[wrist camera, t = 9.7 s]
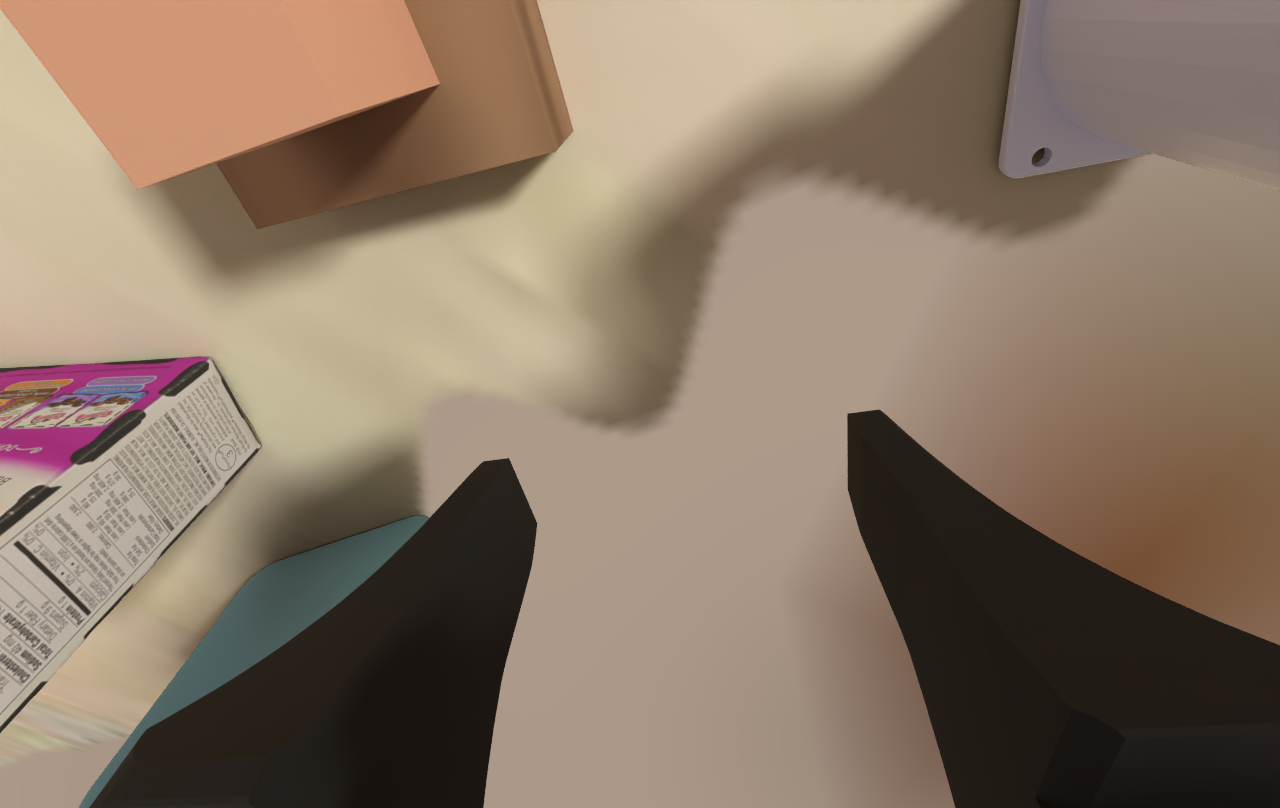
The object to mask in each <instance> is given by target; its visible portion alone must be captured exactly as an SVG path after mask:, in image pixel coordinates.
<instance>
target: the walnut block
mask: <svg viewBox="0 0 1280 808" xmlns="http://www.w3.org/2000/svg"><path fill="white" fill-rule="evenodd" d="M404 1H405V4H406V6H407V8H408V11H409V13H410V15H411V18H412V20H413V22H414V25H415V27H416V29H417V32H418V34H419V36H420V39H421V41H422V43H423V46H424V48H425V50H426V53H427V55H428V57H429V60H430V62H431V64H432V67H433V69H434V71H435V74H436V76H437V78H438V81H439V83H440V84H439V85H436V86H433V87H430V88H427V89H425V90H422V91H419V92H416V93H414V94H411V95H408V96H405V97H403V98H400V99H397V100H394V101H391V102H389V103H386V104H383V105H380V106H378V107H375V108H372V109H369V110H367V111H364V112H361V113H358V114H356V115H353V116H350V117H347V118H344V119H342V120H339V121H336V122H333V123H331V124H328V125H325V126H322V127H320V128H317V129H314V130H311V131H309V132H306V133H303V134H300V135H297V136H295V137H292V138H289V139H286V140H283V141H280V142H277V143H274V144H271V145H268V146H265V147H263V148H260V149H257V150H254V151H251V152H248V153H245V154H242V155H239V156H236V157H233V158H230V159H227V160H224V161H221V162H218V163H217V165H218V166H219V168H220V169H221V171H222V173H223V174H224V176H225V178H226V179H227V181H228V182H229V184H230V186H231V187H232V189H233V190H234V192H235V194H236V195H237V197H238V199H239V200H240V202H241V203H242V205H243V207H244V208H245V210H246V212H247V213H248V215H249V216H250V218H251V220H252V221H253V223H254V225H255V226H256V228H257V229H259V228H263V227H267V226H271V225H274V224H278V223H282V222H286V221H290V220H294V219H298V218H301V217H305V216H309V215H313V214H317V213H321V212H324V211H328V210H332V209H336V208H340V207H344V206H348V205H351V204H355V203H359V202H363V201H367V200H371V199H374V198H378V197H382V196H386V195H390V194H394V193H398V192H401V191H405V190H409V189H413V188H417V187H421V186H425V185H428V184H432V183H436V182H440V181H444V180H448V179H451V178H455V177H459V176H463V175H467V174H471V173H475V172H478V171H482V170H486V169H490V168H494V167H498V166H501V165H505V164H509V163H513V162H517V161H521V160H525V159H528V158H532V157H536V156H540V155H544V154H548V153H552V152H555V151H556V150H557V149H558V148H559V147H560V146H561V145H562V143H563V142H564V141H565V140H566V139H567V138H568V136H569V135H570V134H571V133H572V132H573V128H572V124H571V121H570V117H569V114H568V110H567V107H566V103H565V99H564V96H563V92H562V89H561V85H560V82H559V78H558V75H557V71H556V68H555V64H554V60H553V57H552V53H551V50H550V46H549V43H548V39H547V36H546V32H545V29H544V25H543V21H542V18H541V14H540V11H539V7H538V4H537V0H404Z"/></svg>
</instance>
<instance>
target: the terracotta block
mask: <svg viewBox="0 0 1280 808" xmlns="http://www.w3.org/2000/svg"><path fill="white" fill-rule="evenodd" d="M0 9H1V10H2V11H3V13H4V14H5V15H6V17H7V18H8V19H9V21H10V22H11V23H12V25H13V26H14V27H15V29H16V30H17V31H18V32H19V34H20V35H21V36H22V38H23V39H24V40H25V42H26V43H27V44H28V46H29V47H30V48H31V50H32V51H33V52H34V54H35V55H36V56H37V58H38V59H39V60H40V61H41V63H42V64H43V65H44V67H45V68H46V69H47V71H48V72H49V73H50V75H51V76H52V77H53V79H54V80H55V81H56V83H57V84H58V85H59V86H60V88H61V89H62V90H63V92H64V93H65V94H66V96H67V97H68V98H69V100H70V101H71V102H72V104H73V105H74V106H75V108H76V109H77V110H78V112H79V113H80V114H81V115H82V117H83V118H84V119H85V121H86V122H87V123H88V125H89V126H90V127H91V129H92V130H93V131H94V133H95V134H96V135H97V137H98V138H99V139H100V140H101V142H102V143H103V144H104V146H105V147H106V148H107V150H108V151H109V152H110V154H111V155H112V156H113V158H114V159H115V160H116V162H117V163H118V164H119V166H120V167H121V168H122V169H123V171H124V172H125V173H126V175H127V176H128V177H129V179H130V180H131V181H132V183H133V184H134V185H135V187H136V188H137V189H140V188H143V187H146V186H149V185H152V184H155V183H158V182H161V181H164V180H167V179H170V178H173V177H176V176H179V175H182V174H185V173H188V172H191V171H194V170H197V169H200V168H203V167H206V166H209V165H212V164H215V163H218V162H221V161H224V160H227V159H230V158H233V157H236V156H239V155H242V154H245V153H248V152H251V151H254V150H257V149H260V148H263V147H265V146H268V145H271V144H274V143H277V142H280V141H283V140H286V139H289V138H292V137H295V136H297V135H300V134H303V133H306V132H309V131H311V130H314V129H317V128H320V127H322V126H325V125H328V124H331V123H333V122H336V121H339V120H342V119H344V118H347V117H350V116H353V115H356V114H358V113H361V112H364V111H367V110H369V109H372V108H375V107H378V106H380V105H383V104H386V103H389V102H391V101H394V100H397V99H400V98H403V97H405V96H408V95H411V94H414V93H416V92H419V91H422V90H425V89H427V88H430V87H433V86H436V85H439V84H440V83H439V81H438V78H437V76H436V74H435V71H434V69H433V67H432V64H431V62H430V60H429V57H428V55H427V53H426V50H425V48H424V46H423V43H422V41H421V39H420V36H419V34H418V32H417V29H416V27H415V25H414V22H413V20H412V18H411V15H410V13H409V11H408V8H407V6H406V4H405V1H404V0H0Z"/></svg>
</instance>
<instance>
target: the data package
mask: <svg viewBox="0 0 1280 808" xmlns="http://www.w3.org/2000/svg"><path fill="white" fill-rule="evenodd" d="M428 519H429V517H427V516H423V515H417V516H412V517H409V518H406V519H403V520H400V521H397V522H394V523H391V524H388V525H385V526H382V527H379V528H376V529H373V530H370V531H367V532H364V533H361V534H358V535H355V536H352V537H349V538H346V539H343V540H340V541H337V542H334V543H331V544H328V545H325V546H322V547H319V548H316V549H313V550H310V551H307V552H304V553H301V554H298V555H295V556H292V557H289V558H286V559H282V560H279V561H277V562H274V563H272V564H270V565H268V566H267V567H265V568H264V569H262V570H261V571H259V572H258V573H257V574H256V575H254V576H253V577H252V578H251V579H250V580H249V581H248V582H247V583H246V584H245V585H244V586H243V587H242V588H241V589H240V591H239V592H238V593H237V594H236V596H235V597H234V598H233V600H232V601H231V602H230V604H229V605H228V606H227V608H226V609H225V610H224V612H223V613H222V614H221V616H220V617H219V618H218V620H217V621H216V622H215V624H214V625H213V626H212V628H211V629H210V630H209V632H208V633H207V634H206V636H205V637H204V638H203V640H202V641H201V642H200V644H199V645H198V646H197V648H196V649H195V650H194V652H193V653H192V654H191V656H190V657H189V658H188V660H187V661H186V662H185V663H184V665H183V666H182V667H181V669H180V670H179V671H178V673H177V674H176V675H175V677H174V678H173V679H172V681H171V682H170V683H169V685H168V686H167V687H166V689H165V690H164V691H163V693H162V694H161V695H160V697H159V698H158V699H157V701H156V702H155V703H154V705H153V706H152V707H151V709H150V710H149V711H148V713H147V714H146V715H145V717H144V718H143V719H142V721H141V722H140V723H139V725H138V726H137V727H136V729H135V730H134V731H133V733H132V734H131V735H130V737H129V738H128V739H127V741H126V742H125V743H124V745H123V746H122V747H121V749H120V750H119V751H118V753H117V754H116V755H115V756H114V758H113V759H112V760H111V762H110V763H109V765H108V766H107V767H106V768H105V770H104V771H103V772H102V774H101V775H100V776H99V778H98V779H97V780H96V782H95V783H94V784H93V786H92V787H91V789H90V790H89V791H88V793H87V794H86V796H85V798H84V799H83V801H82V803H81V805H80V807H79V808H89V807H90V806H91V805H92V803H93V802H94V800H95V799H96V798H97V796H98V795H99V793H100V792H101V791H102V789H103V788H104V787H105V785H106V784H107V782H108V781H109V780H110V778H111V777H112V776H113V774H114V773H115V771H116V770H117V769H118V767H119V766H120V764H121V763H122V762H123V760H124V759H125V758H126V756H127V755H128V753H129V752H130V751H131V749H132V748H133V747H134V745H135V744H136V742H137V741H138V740H139V738H140V737H141V735H142V734H143V733H144V732H145V730H146V729H148V728H149V727H151V726H153V725H155V724H157V723H159V722H160V721H162V720H164V719H166V718H167V717H169V716H171V715H172V714H174V713H176V712H178V711H179V710H181V709H183V708H184V707H186V706H188V705H190V704H191V703H193V702H195V701H197V700H198V699H200V698H202V697H203V696H205V695H207V694H209V693H210V692H212V691H214V690H215V689H217V688H219V687H220V686H222V685H223V684H225V683H227V682H228V681H230V680H231V679H233V678H235V677H236V676H238V675H239V674H241V673H242V672H244V671H245V670H247V669H248V668H250V667H252V666H253V665H255V664H256V663H258V662H259V661H261V660H262V659H264V658H265V657H267V656H268V655H270V654H271V653H272V652H274V651H275V650H277V649H278V648H280V647H281V646H283V645H284V644H285V643H287V642H288V641H290V640H291V639H292V638H294V637H295V636H296V635H298V634H299V633H300V632H302V631H303V630H304V629H306V628H307V627H308V626H310V625H311V624H312V623H314V622H315V621H316V620H318V619H319V618H320V617H322V616H323V615H324V614H326V613H327V612H328V611H330V610H331V609H332V608H333V607H335V606H336V605H337V604H338V603H340V602H341V601H342V600H343V599H344V598H346V597H347V596H348V595H349V594H350V593H352V592H353V591H354V590H355V589H356V588H357V587H359V586H360V585H361V584H362V583H363V582H364V581H366V580H367V579H368V578H369V577H370V576H371V575H372V574H373V573H375V572H376V571H377V570H378V569H379V568H380V567H381V566H382V565H383V564H384V563H385V562H386V561H387V560H388V559H389V558H390V557H391V556H392V555H393V554H394V553H395V552H397V551H398V550H399V549H400V548H401V547H402V546H403V545H404V544H405V543H406V542H407V541H408V540H409V539H410V538H411V537H412V536H413V535H414V534H415V533H416V532H417V531H418V530H419V529H420V528H421V527H422V526H423V525H424V523H425V522H426V521H427V520H428Z"/></svg>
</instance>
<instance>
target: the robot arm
mask: <svg viewBox="0 0 1280 808" xmlns="http://www.w3.org/2000/svg"><path fill="white" fill-rule="evenodd" d="M1041 148H1044V151H1045V153H1044V155H1043V158H1042V159H1041V160H1040V161H1039V162H1037V163H1035V164H1032V157H1033V155H1034V154H1035V153H1036V152H1037V151H1038V150H1039V149H1041ZM1149 154H1157V155H1161V156H1164V157H1167V158H1171V159H1174V160H1178V161H1181V162H1185V163H1188V164H1191V165H1194V166H1198V167H1201V168H1204V169H1208V170H1211V171H1214V172H1218V173H1221V174H1224V175H1228V176H1231V177H1234V178H1238V179H1242V180H1245V181H1248V182H1251V183H1255V184H1258V185H1262V186H1265V187H1268V188H1271V189H1275V190H1278V191H1280V0H1021V1H1020V9H1019V16H1018V23H1017V31H1016V38H1015V45H1014V53H1013V60H1012V67H1011V75H1010V82H1009V89H1008V97H1007V104H1006V111H1005V119H1004V126H1003V133H1002V141H1001V148H1000V155H999V169H1000V171H1001V172H1002V174H1004V175H1006V176H1008V177H1010V178H1016V179H1019V178H1025V177H1030V176H1035V175H1041V174H1046V173H1052V172H1057V171H1062V170H1068V169H1073V168H1079V167H1084V166H1089V165H1095V164H1100V163H1106V162H1111V161H1116V160H1122V159H1127V158H1132V157H1138V156H1143V155H1149ZM848 491H849V495H850V499H851V502H852V506H853V510H854V513H855V517H856V520H857V524H858V527H859V530H860V533H861V536H862V539H863V541H864V543H865V546H866V548H867V550H868V553H869V555H870V558H871V560H872V563H873V565H874V567H875V570H876V572H877V574H878V577H879V579H880V582H881V584H882V586H883V589H884V591H885V593H886V596H887V598H888V600H889V603H890V605H891V608H892V610H893V612H894V615H895V617H896V619H897V622H898V624H899V627H900V629H901V631H902V634H903V637H904V639H905V642H906V644H907V647H908V650H909V653H910V655H911V659H912V662H913V665H914V668H915V671H916V675H917V678H918V681H919V684H920V688H921V690H922V694H923V697H924V700H925V704H926V707H927V710H928V714H929V717H930V721H931V724H932V727H933V731H934V734H935V737H936V741H937V744H938V748H939V751H940V754H941V758H942V761H943V764H944V768H945V772H946V775H947V779H948V783H949V786H950V790H951V793H952V797H953V800H954V804H955V807H956V808H1280V645H1277V644H1275V643H1272V642H1270V641H1267V640H1265V639H1262V638H1259V637H1257V636H1254V635H1252V634H1249V633H1247V632H1244V631H1241V630H1239V629H1237V628H1234V627H1232V626H1229V625H1227V624H1224V623H1222V622H1219V621H1217V620H1214V619H1212V618H1209V617H1207V616H1205V615H1203V614H1200V613H1198V612H1196V611H1194V610H1192V609H1189V608H1187V607H1185V606H1183V605H1181V604H1178V603H1176V602H1174V601H1172V600H1169V599H1167V598H1165V597H1163V596H1160V595H1158V594H1156V593H1154V592H1152V591H1150V590H1148V589H1145V588H1143V587H1141V586H1139V585H1137V584H1135V583H1133V582H1131V581H1129V580H1127V579H1125V578H1123V577H1121V576H1119V575H1117V574H1115V573H1113V572H1111V571H1109V570H1107V569H1105V568H1103V567H1102V566H1099V565H1098V564H1096V563H1094V562H1092V561H1090V560H1088V559H1086V558H1084V557H1082V556H1080V555H1079V554H1077V553H1075V552H1073V551H1071V550H1069V549H1068V548H1066V547H1064V546H1062V545H1061V544H1059V543H1057V542H1055V541H1054V540H1052V539H1050V538H1049V537H1047V536H1045V535H1044V534H1042V533H1040V532H1039V531H1037V530H1036V529H1034V528H1032V527H1030V526H1029V525H1027V524H1026V523H1024V522H1022V521H1021V520H1019V519H1017V518H1016V517H1014V516H1013V515H1011V514H1010V513H1008V512H1006V511H1005V510H1004V509H1002V508H1001V507H999V506H998V505H996V504H995V503H994V502H992V501H991V500H990V499H988V498H987V497H985V496H984V495H983V494H981V493H980V492H978V491H977V490H976V489H974V488H973V487H972V486H970V485H969V484H968V483H966V482H965V481H964V480H962V479H961V478H960V477H959V476H957V475H956V474H955V473H953V472H952V471H951V470H950V469H948V468H947V467H946V466H945V465H943V464H942V463H941V462H940V461H938V460H937V459H936V458H935V457H934V456H932V455H931V454H930V453H929V452H927V451H926V450H925V449H924V448H923V447H921V445H919V444H918V443H917V442H916V441H915V440H914V439H912V438H911V437H910V436H909V435H908V434H907V433H906V432H905V431H903V430H902V429H901V428H900V427H899V426H898V425H897V424H896V423H894V422H893V421H892V420H891V419H890V418H889V417H888V416H887V415H886V414H884V413H883V412H882V411H881V410H873V411H865V412H858V413H850V414H848ZM536 528H537V522H536V520H535V517H534V515H533V513H532V510H531V508H530V506H529V503H528V501H527V499H526V497H525V494H524V492H523V490H522V487H521V485H520V483H519V480H518V479H517V476H516V473H515V471H514V469H513V467H512V464H511V462H510V460H509V458H507V459H500V460H492V461H484V462H482V463H481V464H480V465H479V466H478V467H477V468H476V469H475V470H474V471H473V472H472V473H471V474H470V475H469V476H468V477H467V478H466V480H465V481H464V482H463V483H462V484H461V485H460V486H459V487H458V488H457V489H456V490H455V491H454V492H453V494H452V495H451V496H450V497H449V498H448V499H447V500H446V501H445V502H444V503H443V504H442V506H440V508H439V509H438V510H437V511H436V512H435V513H434V514H433V515H432V516H431V517H430V518H429V519H428V520H427V521H426V522H425V523H424V525H423V526H422V527H421V528H420V529H419V530H418V531H417V532H416V533H415V534H414V535H413V536H412V537H411V538H410V539H409V540H408V541H407V542H406V543H405V544H404V545H403V546H402V547H401V548H400V549H399V550H398V551H397V552H395V553H394V554H393V555H392V556H391V557H390V558H389V559H388V560H387V561H386V562H385V563H384V564H383V565H382V566H381V567H380V568H379V569H378V570H377V571H376V572H375V573H373V574H372V575H371V576H370V577H369V578H368V579H367V580H366V581H364V582H363V583H362V584H361V585H360V586H359V587H357V588H356V589H355V590H354V591H353V592H352V593H350V594H349V595H348V596H347V597H346V598H344V599H343V600H342V601H341V602H340V603H338V604H337V605H336V606H335V607H333V608H332V609H331V610H330V611H328V612H327V613H326V614H324V615H323V616H322V617H320V618H319V619H318V620H316V621H315V622H314V623H312V624H311V625H310V626H308V627H307V628H306V629H304V630H303V631H302V632H300V633H299V634H298V635H296V636H295V637H294V638H292V639H291V640H290V641H288V642H287V643H285V644H284V645H283V646H281V647H280V648H278V649H277V650H275V651H274V652H272V653H271V654H270V655H268V656H267V657H265V658H264V659H262V660H261V661H259V662H258V663H256V664H255V665H253V666H252V667H250V668H248V669H247V670H245V671H244V672H242V673H241V674H239V675H238V676H236V677H235V678H233V679H231V680H230V681H228V682H227V683H225V684H223V685H222V686H220V687H219V688H217V689H215V690H214V691H212V692H210V693H209V694H207V695H205V696H203V697H202V698H200V699H198V700H197V701H195V702H193V703H191V704H190V705H188V706H186V707H184V708H183V709H181V710H179V711H178V712H176V713H174V714H172V715H171V716H169V717H167V718H166V719H164V720H162V721H160V722H159V723H157V724H155V725H153V726H151V727H149V728H148V729H146V730H145V732H144V733H143V734H142V735H141V737H140V738H139V740H138V741H137V742H136V744H135V745H134V747H133V748H132V749H131V751H130V752H129V753H128V755H127V756H126V758H125V759H124V760H123V762H122V763H121V764H120V766H119V767H118V769H117V770H116V771H115V773H114V774H113V776H112V777H111V778H110V780H109V781H108V782H107V784H106V785H105V787H104V788H103V789H102V791H101V792H100V793H99V795H98V796H97V798H96V799H95V800H94V802H93V803H92V805H91V806H90V807H89V808H483V805H484V796H485V787H486V779H487V771H488V763H489V757H490V750H491V743H492V736H493V728H494V722H495V716H496V710H497V704H498V698H499V692H500V686H501V681H502V676H503V672H504V668H505V663H506V659H507V656H508V652H509V648H510V645H511V641H512V637H513V633H514V630H515V626H516V622H517V619H518V615H519V612H520V608H521V605H522V601H523V597H524V593H525V589H526V586H527V582H528V578H529V574H530V570H531V566H532V560H533V553H534V546H535V537H536Z"/></svg>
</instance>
